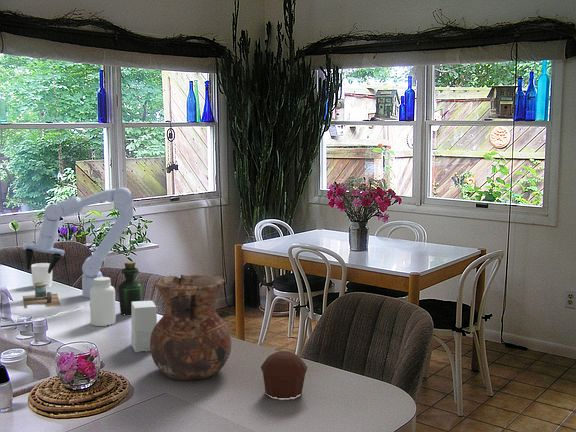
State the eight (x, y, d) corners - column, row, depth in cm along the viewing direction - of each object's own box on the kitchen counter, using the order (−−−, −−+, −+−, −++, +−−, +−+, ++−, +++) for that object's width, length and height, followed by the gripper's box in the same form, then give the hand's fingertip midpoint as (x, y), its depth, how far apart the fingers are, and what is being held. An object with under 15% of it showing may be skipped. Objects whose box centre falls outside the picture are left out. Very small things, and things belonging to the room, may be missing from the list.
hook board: (61, 309, 236) (60, 295, 236) (23, 312, 232) (23, 298, 231) (57, 297, 254) (56, 284, 253) (22, 299, 249) (22, 286, 248)
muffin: (313, 400, 159) (314, 359, 158) (267, 405, 156) (268, 363, 155) (298, 382, 170) (299, 344, 169) (255, 386, 167) (256, 347, 166)
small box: (157, 350, 193) (157, 306, 192) (134, 352, 191) (134, 308, 190) (152, 342, 201) (152, 299, 200) (131, 344, 199) (130, 301, 197)
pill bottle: (85, 325, 218) (84, 279, 216) (100, 319, 225) (100, 275, 224) (105, 328, 215) (104, 282, 213) (120, 321, 222) (120, 277, 221)
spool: (49, 297, 247) (49, 283, 246) (40, 300, 243) (39, 285, 243) (41, 296, 249) (41, 281, 248) (32, 298, 245) (31, 283, 245)
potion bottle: (113, 313, 233) (113, 261, 231) (134, 309, 238) (134, 259, 236) (125, 318, 227) (125, 265, 225) (146, 314, 232) (146, 262, 230)
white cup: (46, 292, 261) (45, 267, 260) (27, 291, 262) (27, 266, 261) (56, 288, 268) (56, 263, 267) (39, 287, 270) (38, 262, 269)
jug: (142, 363, 183) (142, 272, 180) (216, 354, 191) (217, 268, 188) (160, 392, 162) (160, 290, 160) (242, 381, 171) (244, 284, 168)
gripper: (65, 237, 253) (56, 271, 254) (25, 229, 246) (16, 264, 247) (68, 241, 247) (59, 276, 248) (28, 233, 240) (18, 269, 241)
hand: (38, 271), depth 247 cm, fingers open, 7 cm apart
